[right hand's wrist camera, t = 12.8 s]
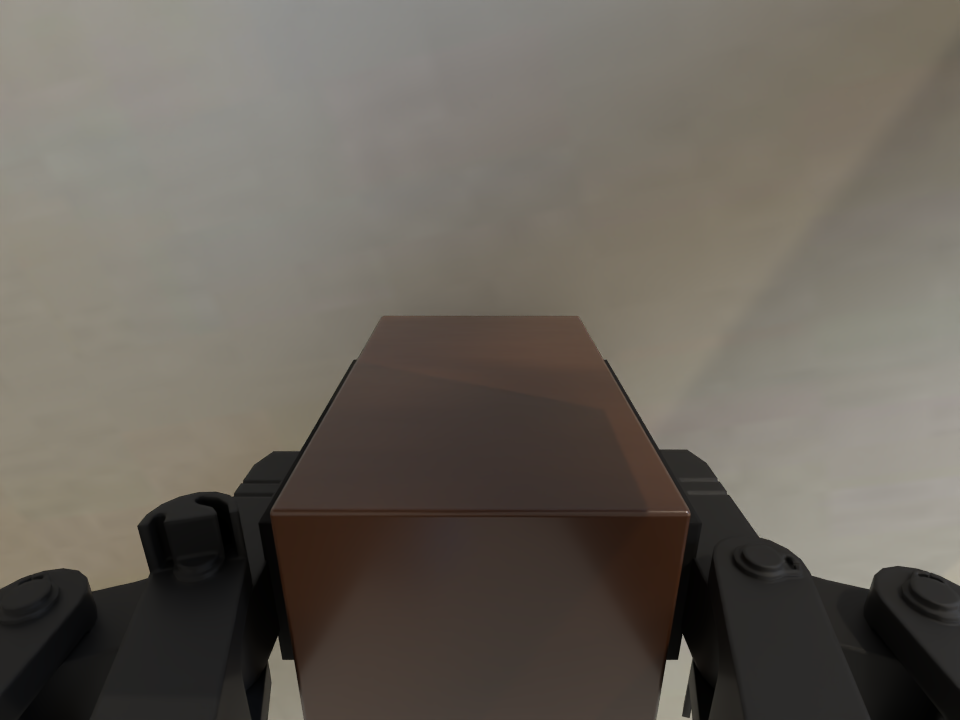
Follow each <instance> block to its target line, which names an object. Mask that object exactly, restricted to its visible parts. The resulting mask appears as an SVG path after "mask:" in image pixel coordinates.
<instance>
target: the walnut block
mask: <svg viewBox="0 0 960 720" xmlns="http://www.w3.org/2000/svg"><path fill="white" fill-rule="evenodd" d="M690 515H691V513H690V510H689V508H688V506H687V505H686V503H685V501H684V499H683V498H682V496H681V494H680V492H679V491H678V489H677V487H676V485H675V484H674V482H673V480H672V478H671V477H670V475H669V473H668V472H667V470H666V468H665V466H664V465H663V463H662V461H661V459H660V458H659V456H658V454H657V452H656V451H655V449H654V447H653V445H652V444H651V442H650V440H649V438H648V437H647V435H646V433H645V431H644V430H643V428H642V426H641V424H640V423H639V421H638V419H637V417H636V416H635V414H634V412H633V410H632V409H631V407H630V405H629V403H628V402H627V400H626V398H625V396H624V395H623V393H622V391H621V389H620V388H619V386H618V384H617V382H616V381H615V379H614V377H613V375H612V374H611V372H610V370H609V368H608V367H607V365H606V363H605V361H604V360H603V358H602V356H601V354H600V353H599V351H598V349H597V347H596V346H595V344H594V342H593V340H592V339H591V337H590V335H589V334H588V332H587V330H586V328H585V327H584V325H583V323H582V321H581V320H580V318H579V317H578V316H382V317H381V319H380V321H379V322H378V324H377V326H376V328H375V329H374V331H373V333H372V335H371V336H370V338H369V340H368V342H367V343H366V345H365V347H364V349H363V350H362V352H361V354H360V356H359V357H358V359H357V361H356V363H355V364H354V366H353V368H352V369H351V371H350V373H349V375H348V376H347V378H346V380H345V382H344V383H343V385H342V387H341V389H340V390H339V392H338V394H337V396H336V397H335V399H334V401H333V403H332V404H331V406H330V408H329V410H328V411H327V413H326V415H325V417H324V418H323V420H322V422H321V424H320V425H319V427H318V429H317V430H316V432H315V434H314V436H313V437H312V439H311V441H310V443H309V444H308V446H307V448H306V450H305V451H304V453H303V455H302V457H301V458H300V460H299V462H298V464H297V465H296V467H295V469H294V471H293V472H292V474H291V476H290V478H289V479H288V481H287V483H286V484H285V486H284V488H283V490H282V491H281V493H280V495H279V497H278V498H277V500H276V502H275V504H274V505H273V507H272V509H271V512H270V518H271V524H272V530H273V536H274V542H275V548H276V554H277V560H278V566H279V572H280V578H281V584H282V590H283V596H284V602H285V608H286V614H287V620H288V626H289V632H290V638H291V644H292V650H293V656H294V662H295V668H296V674H297V680H298V686H299V692H300V698H301V704H302V710H303V716H304V720H656V717H657V711H658V706H659V700H660V694H661V688H662V682H663V676H664V670H665V664H666V658H667V652H668V646H669V640H670V634H671V629H672V623H673V617H674V611H675V605H676V599H677V593H678V587H679V581H680V575H681V569H682V563H683V557H684V552H685V546H686V540H687V534H688V528H689V522H690Z"/></svg>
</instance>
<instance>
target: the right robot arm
mask: <svg viewBox="0 0 960 720" xmlns="http://www.w3.org/2000/svg"><path fill="white" fill-rule="evenodd" d="M356 361H357V360H353V362H352V364H351V365H350V367H349V369H348V370H347V372H346V374H345V376H344V377H343V379H342V381H341V382H340V384H339V386H338V388H337V389H336V391H335V393H334V394H333V396H332V398H331V400H330V401H329V403H328V405H327V406H326V408H325V410H324V411H323V413H322V415H321V417H320V418H319V420H318V422H317V423H316V425H315V427H314V429H313V430H312V432H311V434H310V435H309V437H308V439H307V441H306V442H305V444H304V446H303V447H302V449H301V451H273V452H272V453H271V454H269V455H268V456H266V457H265V458H263V459H262V460H261V461H259V462H258V463H256V464H255V465H254V466H253V467H252V469H251V470H250V472H249V473H248V474H247V476H246V477H245V479H244V480H243V484H240V486H239V487H238V489H237V490H236V492H235V493H234V497H231V496H230V495H227V494H223V493H219V492H198V493H193V494H189V495H185V496H180V497H178V498H175V499H173V500H171V501H168V502H166V503H164V504H161V505H160V506H159V507H157V508H156V509H154V510H153V511H151V512H150V513H148V514H147V515H146V516H145V517H144V519H143V520H142V521H141V522H140V523H139V525H138V526H137V527H138V530H139V534H140V538H141V541H142V545H143V548H144V552H145V556H146V559H147V563H148V567H149V570H150V575H149V577H148V578H147V579H144V580H140V581H137V582H133V583H129V584H124V585H120V586H115V587H111V588H106V589H102V590H97V591H93V592H92V591H91V588H90V585H89V582H88V579H87V577H86V576H84V575H83V574H82V573H81V572H80V571H77V570H71V569H64V568H63V569H55V570H48V571H42V572H39V573H36V574H33V575H29V576H27V577H24V578H21V579H19V580H17V581H15V582H13V583H11V584H10V585H8V586H6V587H4V588H2V589H0V720H268V711H269V701H270V691H271V676H270V670H269V664H268V659H269V656H270V654H271V651H272V649H273V646H274V644H275V642H276V639H277V637H279V643H280V648H281V654H282V660H294V656H293V650H292V644H291V638H290V632H289V626H288V620H287V614H286V608H285V602H284V596H283V590H282V584H281V578H280V572H279V566H278V560H277V554H276V548H275V542H274V536H273V530H272V524H271V518H270V512H271V509H272V507H273V505H274V504H275V502H276V500H277V498H278V497H279V495H280V493H281V491H282V490H283V488H284V486H285V484H286V483H287V481H288V479H289V478H290V476H291V474H292V472H293V471H294V469H295V467H296V465H297V464H298V462H299V460H300V458H301V457H302V455H303V453H304V451H305V450H306V448H307V446H308V444H309V443H310V441H311V439H312V437H313V436H314V434H315V432H316V430H317V429H318V427H319V425H320V424H321V422H322V420H323V418H324V417H325V415H326V413H327V411H328V410H329V408H330V406H331V404H332V403H333V401H334V399H335V397H336V396H337V394H338V392H339V390H340V389H341V387H342V385H343V383H344V382H345V380H346V378H347V376H348V375H349V373H350V371H351V369H352V368H353V366H354V364H355V363H356ZM604 361H605V363H606V365H607V367H608V368H609V370H610V372H611V374H612V375H613V377H614V379H615V381H616V382H617V384H618V386H619V388H620V389H621V391H622V393H623V395H624V396H625V398H626V400H627V402H628V403H629V405H630V407H631V409H632V410H633V412H634V414H635V416H636V417H637V419H638V421H639V423H640V424H641V426H642V428H643V430H644V431H645V433H646V435H647V437H648V438H649V440H650V442H651V444H652V445H653V447H654V449H655V451H656V452H657V454H658V456H659V458H660V459H661V461H662V463H663V465H664V466H665V468H666V470H667V472H668V473H669V475H670V477H671V478H672V480H673V482H674V484H675V485H676V487H677V489H678V491H679V492H680V494H681V496H682V498H683V499H684V501H685V503H686V505H687V506H688V508H689V510H690V513H691V515H690V522H689V528H688V534H687V540H686V546H685V552H684V557H683V563H682V569H681V575H680V581H679V587H678V593H677V599H676V605H675V611H674V617H673V623H672V629H671V634H670V640H669V646H668V652H667V658H666V660H678V656H679V651H680V645H681V639H682V634H683V635H684V638H685V640H686V643H687V645H688V648H689V650H690V652H691V655H692V657H693V659H692V664H691V670H690V675H689V680H688V685H687V690H686V696H685V701H684V707H683V714H682V716H683V717H687V718H690V713H691V709H692V719H693V720H960V586H959V585H957V584H955V583H953V582H951V581H949V580H947V579H945V578H943V577H941V576H939V575H936V574H933V573H929V572H927V571H923V570H920V569H916V568H909V567H901V566H895V567H888V568H883V569H881V570H880V571H879V572H878V573H877V574H875V575H874V578H873V581H872V584H871V587H870V590H869V589H865V588H860V587H856V586H851V585H847V584H842V583H838V582H833V581H829V580H825V579H821V578H818V577H814V576H811V574H810V572H809V570H808V569H807V567H806V566H805V564H804V563H803V561H802V560H801V559H800V558H798V557H797V556H796V555H795V554H793V553H792V552H791V551H790V550H788V549H787V548H785V547H783V546H781V545H779V544H777V543H774V542H772V541H770V540H767V539H763V538H759V537H758V535H757V534H756V532H755V531H754V529H753V528H752V527H751V525H750V524H749V522H748V521H747V520H746V518H745V517H744V515H743V514H742V513H741V511H740V510H739V508H738V507H737V505H736V504H735V503H734V501H733V500H732V498H731V497H730V496H729V495H727V491H726V490H725V489H724V487H723V486H722V484H721V483H720V482H718V481H717V477H716V476H715V474H714V473H713V472H712V470H711V469H710V467H709V466H708V465H707V463H706V462H704V461H703V460H701V459H700V458H698V457H697V456H695V455H694V454H693V453H691V452H690V451H688V450H659V448H658V447H657V445H656V443H655V442H654V440H653V438H652V436H651V435H650V433H649V431H648V430H647V428H646V426H645V424H644V423H643V421H642V419H641V418H640V416H639V414H638V412H637V411H636V409H635V407H634V406H633V404H632V402H631V401H630V399H629V397H628V395H627V394H626V392H625V390H624V389H623V387H622V385H621V383H620V382H619V380H618V378H617V377H616V375H615V373H614V371H613V370H612V368H611V366H610V365H609V363H608V361H607V360H604Z"/></svg>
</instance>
